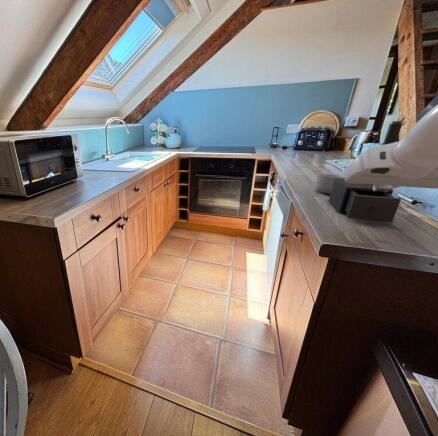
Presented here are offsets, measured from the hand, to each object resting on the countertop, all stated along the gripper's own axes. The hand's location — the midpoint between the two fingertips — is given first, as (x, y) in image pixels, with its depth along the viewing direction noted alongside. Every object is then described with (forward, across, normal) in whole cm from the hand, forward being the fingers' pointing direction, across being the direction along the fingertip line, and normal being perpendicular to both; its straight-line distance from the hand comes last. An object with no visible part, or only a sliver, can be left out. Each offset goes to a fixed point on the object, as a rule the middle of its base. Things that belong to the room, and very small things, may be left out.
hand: (379, 189), depth 69 cm
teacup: (+40, -1, -21) cm, 45 cm away
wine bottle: (+37, -14, -18) cm, 43 cm away
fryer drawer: (+18, -3, -1) cm, 19 cm away
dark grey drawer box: (+25, -4, -7) cm, 26 cm away
